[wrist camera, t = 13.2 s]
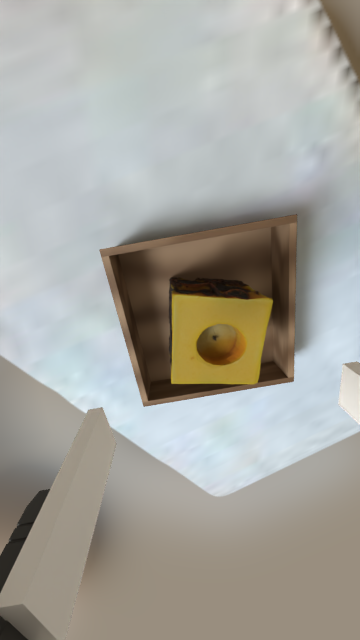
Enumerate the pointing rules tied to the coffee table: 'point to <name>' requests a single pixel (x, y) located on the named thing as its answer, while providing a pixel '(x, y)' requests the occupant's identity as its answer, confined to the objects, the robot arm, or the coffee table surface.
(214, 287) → the candle
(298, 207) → the coffee table surface
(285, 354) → the crate
